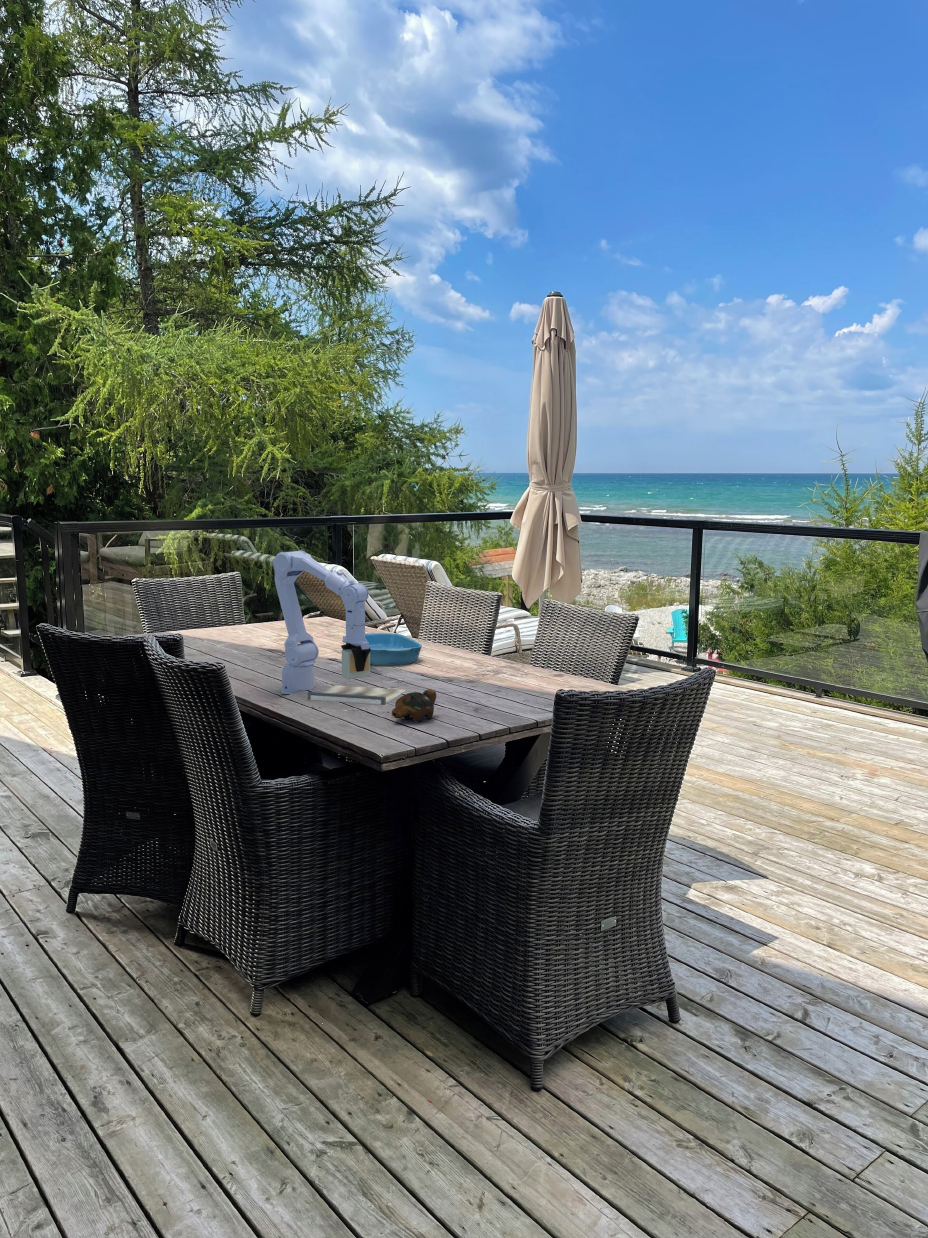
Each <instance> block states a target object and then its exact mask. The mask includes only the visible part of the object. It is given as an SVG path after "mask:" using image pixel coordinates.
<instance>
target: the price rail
mask: <svg viewBox="0 0 928 1238" xmlns="http://www.w3.org/2000/svg"><path fill="white" fill-rule="evenodd" d="M321 692H322V691H320V692H318V691H308V692H307V700H309V701H310V700H311V701H323V702H336V703H337V702H339V703H354V704H369V705H386V704H387V703H386V697H382V696H367V695H352V694H336V693H321Z"/></svg>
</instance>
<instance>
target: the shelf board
mask: <svg viewBox="0 0 928 1238" xmlns="http://www.w3.org/2000/svg"><path fill="white" fill-rule="evenodd" d="M406 691H407V689H399V688H398V689H397V688H396V689H395V688H383V687H382V688H381V687H380V688H378V687H365V686H353V685H351V686H349V685H332V686H330V687H328V688H326V689H324V690H323V691H320V692H321V693H336V694H352V695H367V696H382V697H386V704H388V703H389V702H391V701H392V700H393V699H395V698H397V697H398V696H400V695H401V694H402V693H404V692H406Z"/></svg>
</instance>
